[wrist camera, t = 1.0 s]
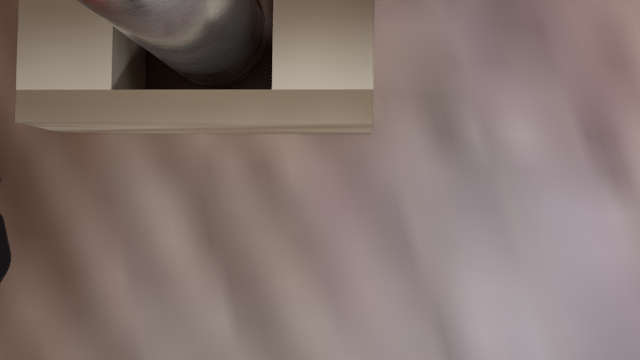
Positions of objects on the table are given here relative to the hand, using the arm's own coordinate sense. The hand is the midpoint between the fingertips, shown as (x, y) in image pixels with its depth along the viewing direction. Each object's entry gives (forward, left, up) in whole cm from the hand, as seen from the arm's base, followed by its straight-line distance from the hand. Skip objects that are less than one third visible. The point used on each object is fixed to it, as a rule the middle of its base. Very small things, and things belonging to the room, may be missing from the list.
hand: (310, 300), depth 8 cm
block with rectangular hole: (+2, +9, -13) cm, 16 cm away
